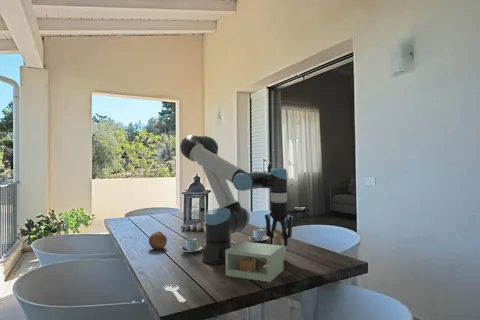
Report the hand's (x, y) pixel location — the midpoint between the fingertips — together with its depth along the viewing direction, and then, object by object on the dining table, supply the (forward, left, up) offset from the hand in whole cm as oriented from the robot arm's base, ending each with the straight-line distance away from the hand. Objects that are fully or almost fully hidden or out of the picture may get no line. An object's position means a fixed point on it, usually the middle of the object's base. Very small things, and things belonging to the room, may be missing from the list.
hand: (279, 252), depth 157 cm
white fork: (-21, -51, -4) cm, 56 cm away
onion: (-66, -6, -4) cm, 66 cm away
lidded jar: (-57, +35, -4) cm, 67 cm away
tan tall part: (-1, -11, -4) cm, 12 cm away
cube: (-7, -20, -4) cm, 21 cm away
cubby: (-4, -20, -4) cm, 21 cm away
